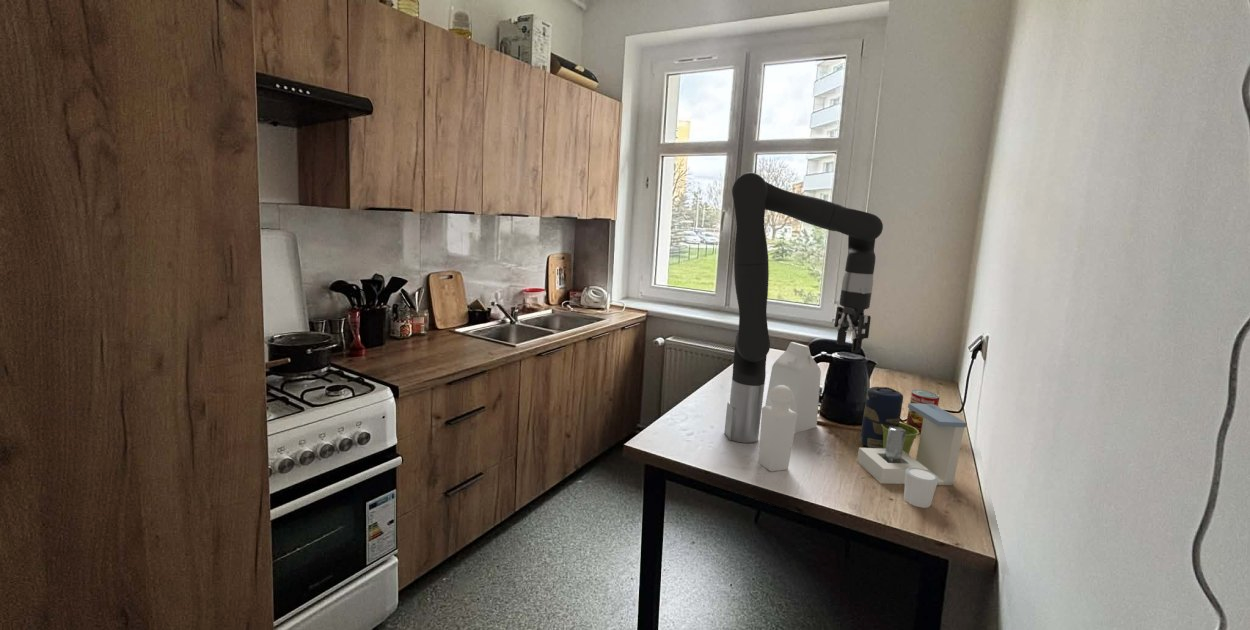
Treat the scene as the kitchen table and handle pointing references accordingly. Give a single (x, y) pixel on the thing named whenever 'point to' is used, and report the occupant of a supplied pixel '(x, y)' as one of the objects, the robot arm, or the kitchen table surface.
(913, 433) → the plant pot
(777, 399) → the white square bottle
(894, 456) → the peg
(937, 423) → the socket station
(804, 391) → the milk
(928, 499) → the white tapered cup
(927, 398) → the canned food
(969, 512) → the kitchen table surface
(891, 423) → the canister
